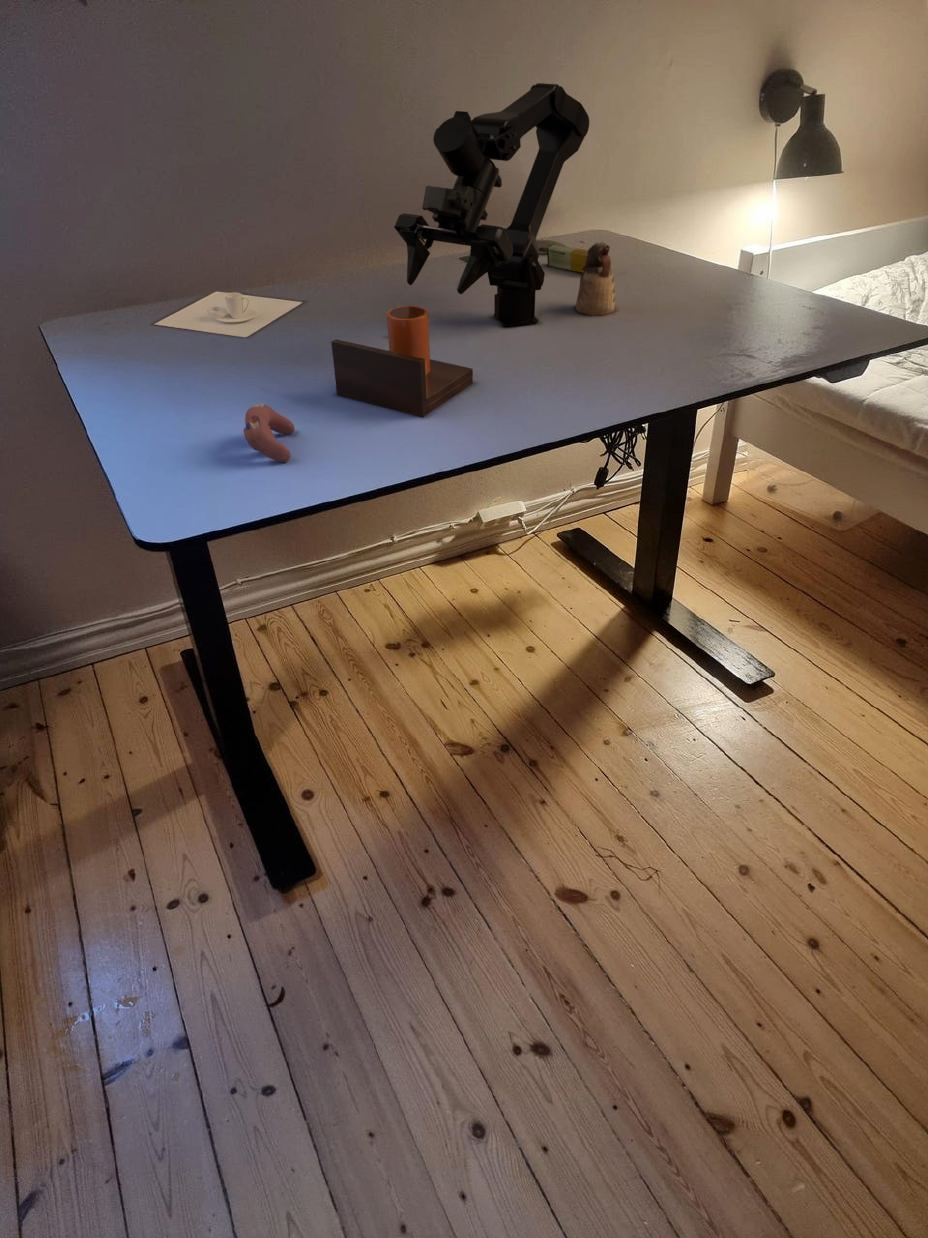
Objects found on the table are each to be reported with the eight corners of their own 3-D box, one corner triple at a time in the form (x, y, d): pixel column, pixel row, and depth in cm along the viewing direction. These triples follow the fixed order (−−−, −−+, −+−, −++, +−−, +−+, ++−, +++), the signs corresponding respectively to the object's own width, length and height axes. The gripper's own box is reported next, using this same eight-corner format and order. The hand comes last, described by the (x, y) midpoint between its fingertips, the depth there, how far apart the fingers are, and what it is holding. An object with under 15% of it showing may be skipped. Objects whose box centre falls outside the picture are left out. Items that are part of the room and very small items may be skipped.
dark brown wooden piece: (390, 364, 147) (386, 312, 141) (473, 383, 140) (472, 330, 135) (336, 395, 137) (330, 341, 132) (422, 417, 130) (420, 361, 125)
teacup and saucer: (202, 321, 164) (198, 298, 162) (227, 307, 170) (223, 285, 168) (242, 326, 162) (239, 304, 159) (266, 312, 167) (263, 290, 165)
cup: (424, 360, 141) (421, 303, 135) (435, 375, 136) (433, 316, 131) (386, 366, 140) (382, 308, 134) (396, 380, 135) (392, 321, 129)
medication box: (546, 266, 188) (545, 246, 186) (554, 262, 190) (553, 242, 187) (593, 275, 182) (593, 255, 179) (601, 270, 183) (601, 251, 180)
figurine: (604, 301, 170) (609, 235, 162) (621, 312, 164) (627, 245, 157) (570, 305, 168) (573, 239, 161) (586, 317, 163) (590, 249, 155)
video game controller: (271, 442, 128) (242, 403, 124) (298, 428, 127) (269, 387, 123) (265, 475, 120) (233, 434, 116) (293, 460, 119) (262, 418, 115)
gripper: (397, 155, 134) (359, 250, 133) (505, 167, 126) (465, 268, 125) (428, 201, 144) (393, 289, 143) (529, 214, 136) (493, 307, 135)
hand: (433, 287), depth 136 cm, fingers open, 9 cm apart
